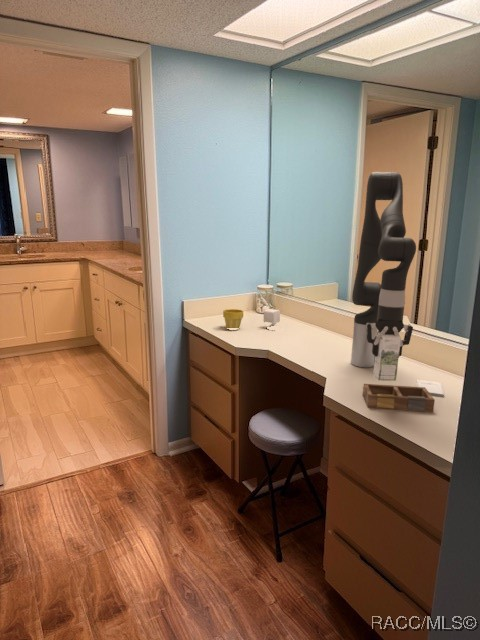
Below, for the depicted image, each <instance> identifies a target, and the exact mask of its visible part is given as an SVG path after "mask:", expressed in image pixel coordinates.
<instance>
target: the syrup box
mask: <svg viewBox="0 0 480 640" xmlns="http://www.w3.org/2000/svg"><path fill="white" fill-rule="evenodd" d="M379 334H380V332H378V335H379ZM401 340H402V337H401V335H400V336H395V335H388V334H384V335H381V339H380V341H379V342H378V344H377V345H378V353H377V357H375V356H374V365H373V368H372V375H373V376H374V378H376V379H377V380H378V381H391V382H392V381H396V380H397V375H398V374H397V372H398V364H399V358H400V356H399V350H400V342H401Z"/></svg>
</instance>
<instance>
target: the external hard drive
mask: <svg viewBox="0 0 480 640" xmlns="http://www.w3.org/2000/svg"><path fill="white" fill-rule="evenodd" d="M416 387H425V388H426V389H427V391H428V392H429V393H430V394H431V396H432V397H433V396H434V397H440V398H445V394H444V393H445V392H444V389H443V385H442V382H439V381H433V380H424V379H416Z"/></svg>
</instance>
